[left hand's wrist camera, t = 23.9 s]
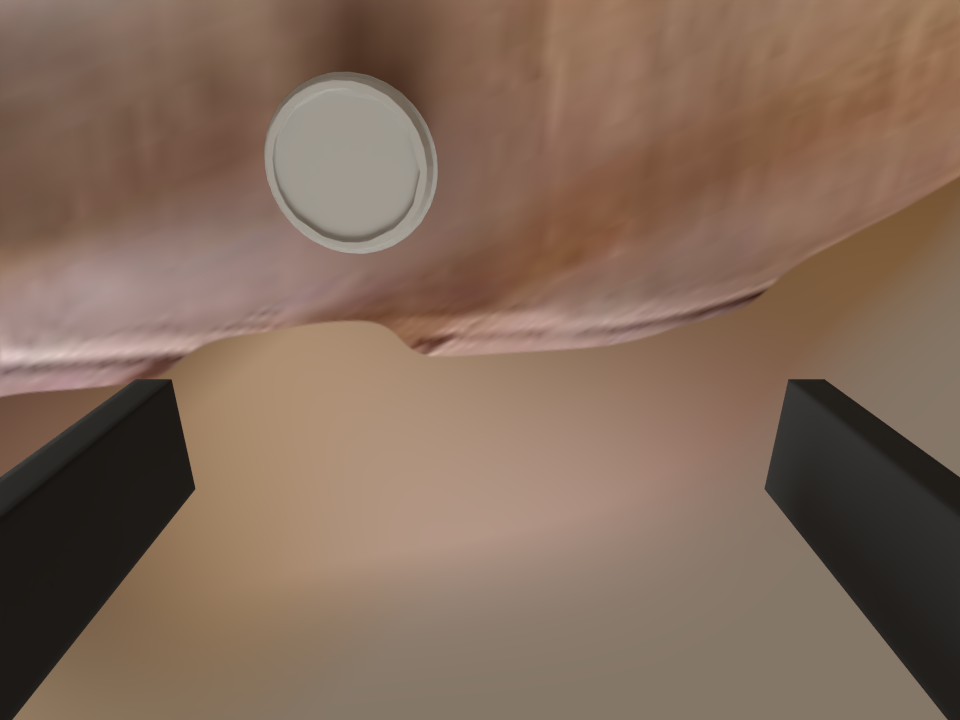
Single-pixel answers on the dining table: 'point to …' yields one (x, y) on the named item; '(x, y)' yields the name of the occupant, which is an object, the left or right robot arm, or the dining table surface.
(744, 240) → the dining table surface
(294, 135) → the disposable coffee cup
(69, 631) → the left robot arm
